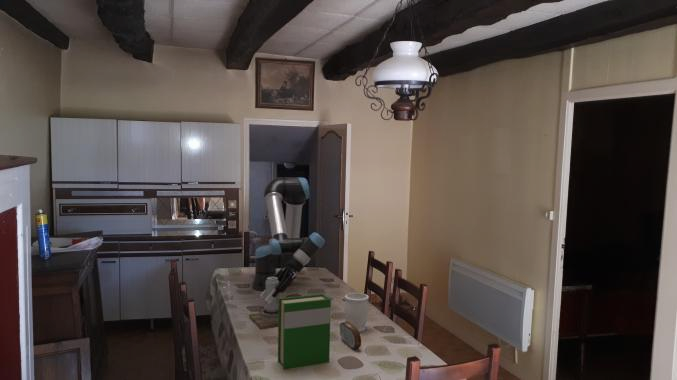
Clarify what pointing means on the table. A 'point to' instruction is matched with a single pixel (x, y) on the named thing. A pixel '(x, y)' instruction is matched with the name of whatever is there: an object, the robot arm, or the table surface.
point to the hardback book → (304, 330)
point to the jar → (356, 310)
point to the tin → (350, 335)
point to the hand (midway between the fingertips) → (264, 299)
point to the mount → (265, 319)
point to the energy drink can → (270, 286)
